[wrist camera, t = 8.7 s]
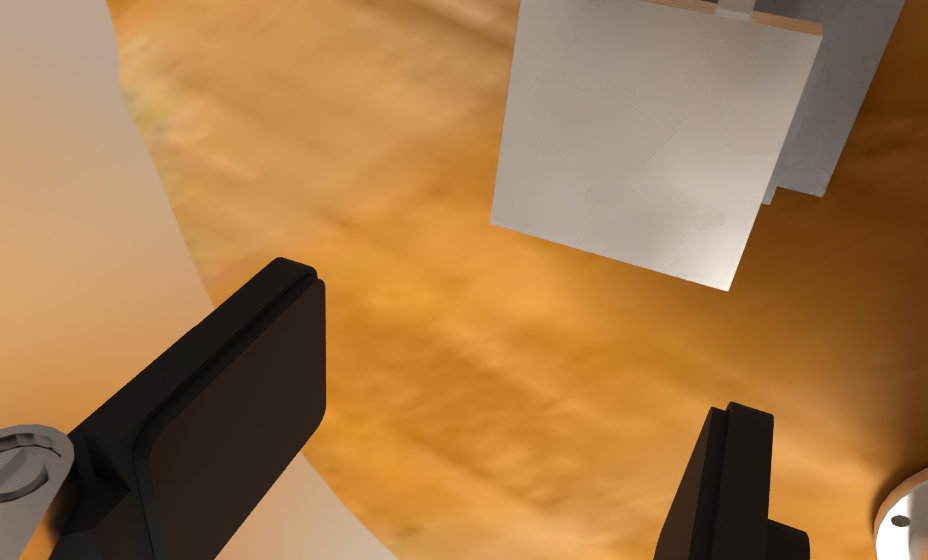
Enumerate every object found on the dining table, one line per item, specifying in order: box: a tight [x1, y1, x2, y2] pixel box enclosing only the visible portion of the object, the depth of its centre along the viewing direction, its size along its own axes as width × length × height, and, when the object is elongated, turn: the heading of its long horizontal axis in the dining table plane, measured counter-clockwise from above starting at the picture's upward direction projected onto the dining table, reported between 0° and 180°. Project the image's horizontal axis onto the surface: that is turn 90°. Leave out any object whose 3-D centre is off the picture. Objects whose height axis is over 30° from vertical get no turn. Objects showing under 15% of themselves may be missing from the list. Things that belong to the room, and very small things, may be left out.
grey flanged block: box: [490, 0, 823, 292], centre depth 22 cm, size 7×9×9 cm
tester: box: [701, 0, 906, 205], centre depth 27 cm, size 14×12×9 cm
